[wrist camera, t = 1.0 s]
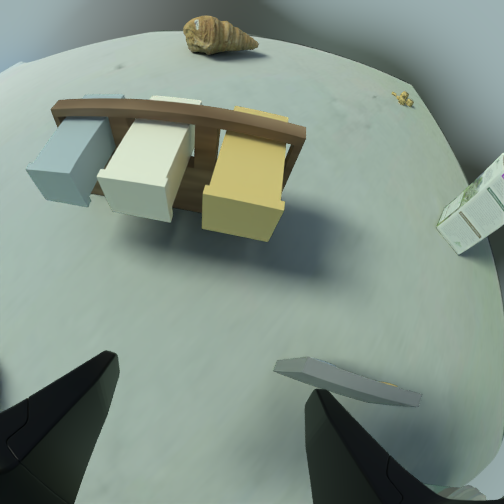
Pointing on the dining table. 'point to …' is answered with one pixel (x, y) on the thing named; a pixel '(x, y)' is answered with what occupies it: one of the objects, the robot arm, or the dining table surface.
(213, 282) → the dining table surface
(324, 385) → the card
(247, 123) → the button board
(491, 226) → the syrup box
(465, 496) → the coffee cup
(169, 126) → the middle button
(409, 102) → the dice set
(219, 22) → the seashell
